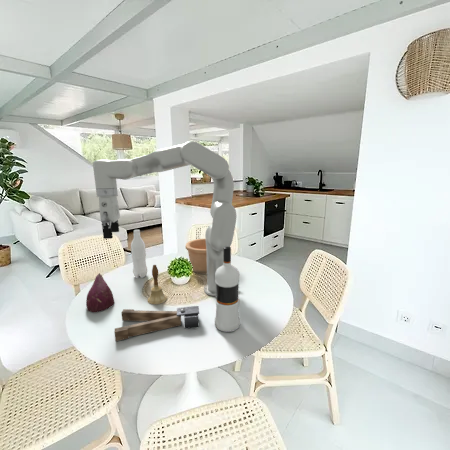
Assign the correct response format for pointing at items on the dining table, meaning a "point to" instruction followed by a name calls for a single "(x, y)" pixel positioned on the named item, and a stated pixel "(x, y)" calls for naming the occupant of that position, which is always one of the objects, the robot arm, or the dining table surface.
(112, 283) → the dining table surface
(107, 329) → the dining table surface
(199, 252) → the pottery
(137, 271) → the water bottle
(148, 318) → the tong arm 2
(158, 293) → the hand bell
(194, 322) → the hinge block
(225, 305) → the vodka
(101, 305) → the vegetable
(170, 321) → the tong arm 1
